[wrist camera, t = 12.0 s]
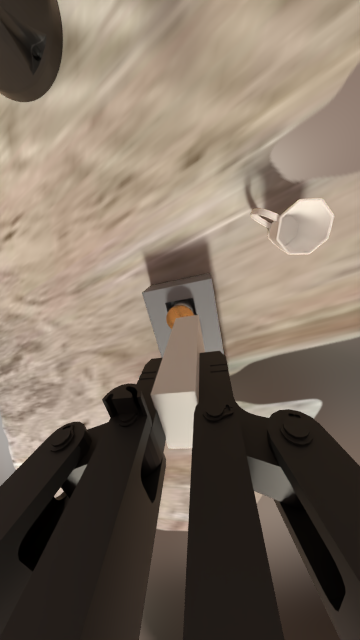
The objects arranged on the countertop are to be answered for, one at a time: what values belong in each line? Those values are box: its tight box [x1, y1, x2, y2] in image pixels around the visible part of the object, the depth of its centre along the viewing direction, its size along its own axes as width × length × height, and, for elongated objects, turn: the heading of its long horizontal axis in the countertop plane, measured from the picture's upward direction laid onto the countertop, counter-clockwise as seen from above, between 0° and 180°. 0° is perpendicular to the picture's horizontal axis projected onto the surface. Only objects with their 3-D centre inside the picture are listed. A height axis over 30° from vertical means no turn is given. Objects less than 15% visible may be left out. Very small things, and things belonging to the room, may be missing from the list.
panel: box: [142, 273, 224, 358], centre depth 38 cm, size 26×12×6 cm, turn 13°
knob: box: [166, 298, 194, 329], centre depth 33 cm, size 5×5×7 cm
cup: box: [250, 198, 335, 254], centre depth 28 cm, size 7×10×8 cm
